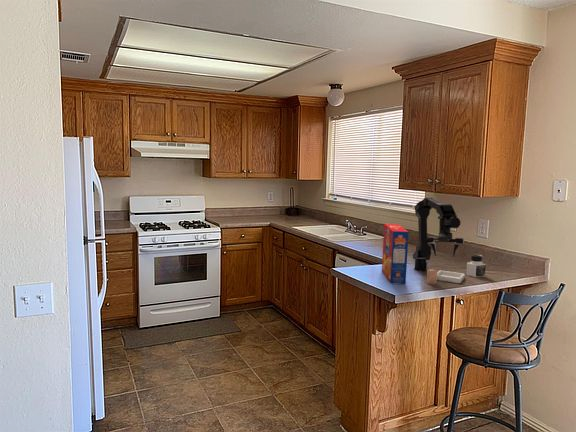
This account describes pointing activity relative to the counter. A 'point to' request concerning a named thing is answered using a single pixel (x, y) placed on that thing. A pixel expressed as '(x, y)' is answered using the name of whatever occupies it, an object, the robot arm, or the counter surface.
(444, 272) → the tray
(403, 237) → the cereal box
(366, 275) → the counter surface
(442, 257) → the counter surface
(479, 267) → the medicine bottle
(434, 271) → the peach rounded cylinder
